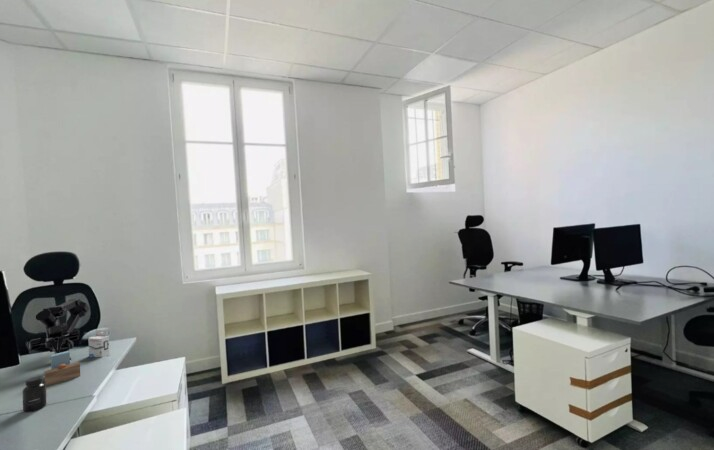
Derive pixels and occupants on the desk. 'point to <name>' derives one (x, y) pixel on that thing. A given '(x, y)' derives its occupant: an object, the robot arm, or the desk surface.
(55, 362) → the blue white block
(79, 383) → the desk surface
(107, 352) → the ink box
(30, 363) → the desk surface
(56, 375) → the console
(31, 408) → the supplement bottle
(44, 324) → the robot arm
